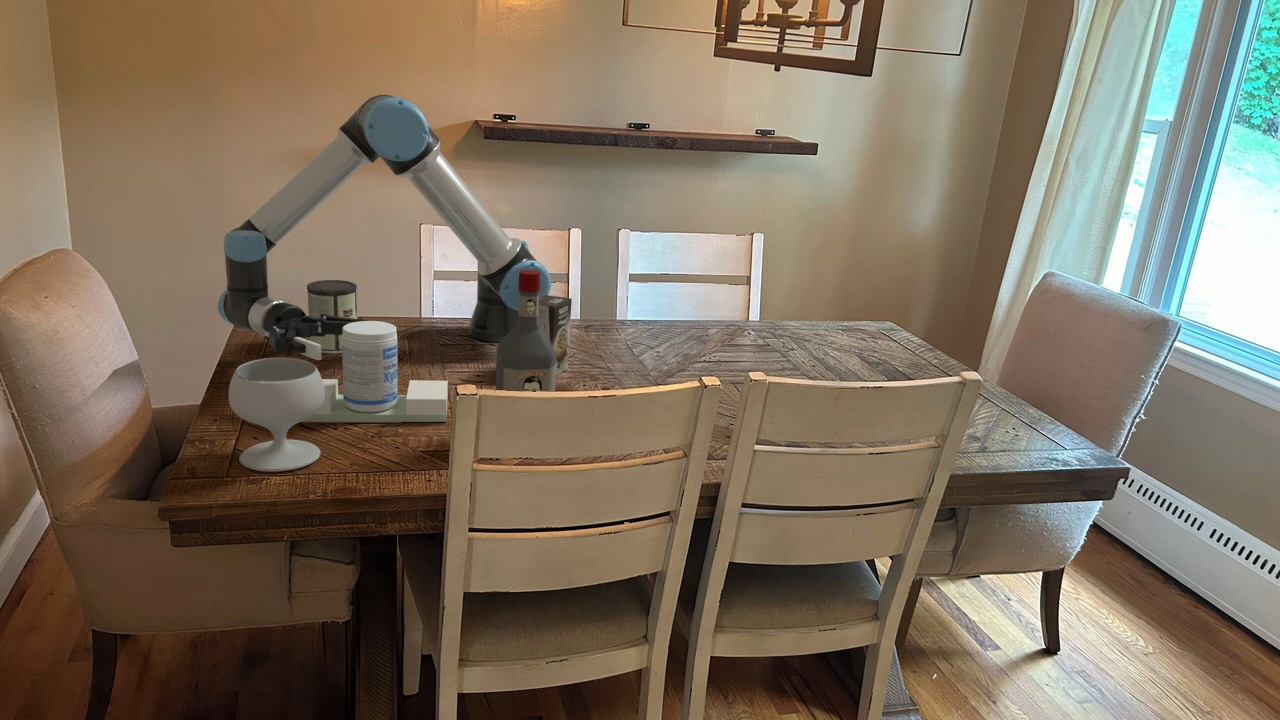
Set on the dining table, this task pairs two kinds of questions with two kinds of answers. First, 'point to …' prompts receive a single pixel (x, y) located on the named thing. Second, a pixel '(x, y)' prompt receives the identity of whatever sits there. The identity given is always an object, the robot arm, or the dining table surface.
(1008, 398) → the dining table surface
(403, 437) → the dining table surface
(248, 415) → the chalice
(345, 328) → the supplement tub
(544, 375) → the liquor
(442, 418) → the rail
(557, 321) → the coffee box
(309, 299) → the coffee can
